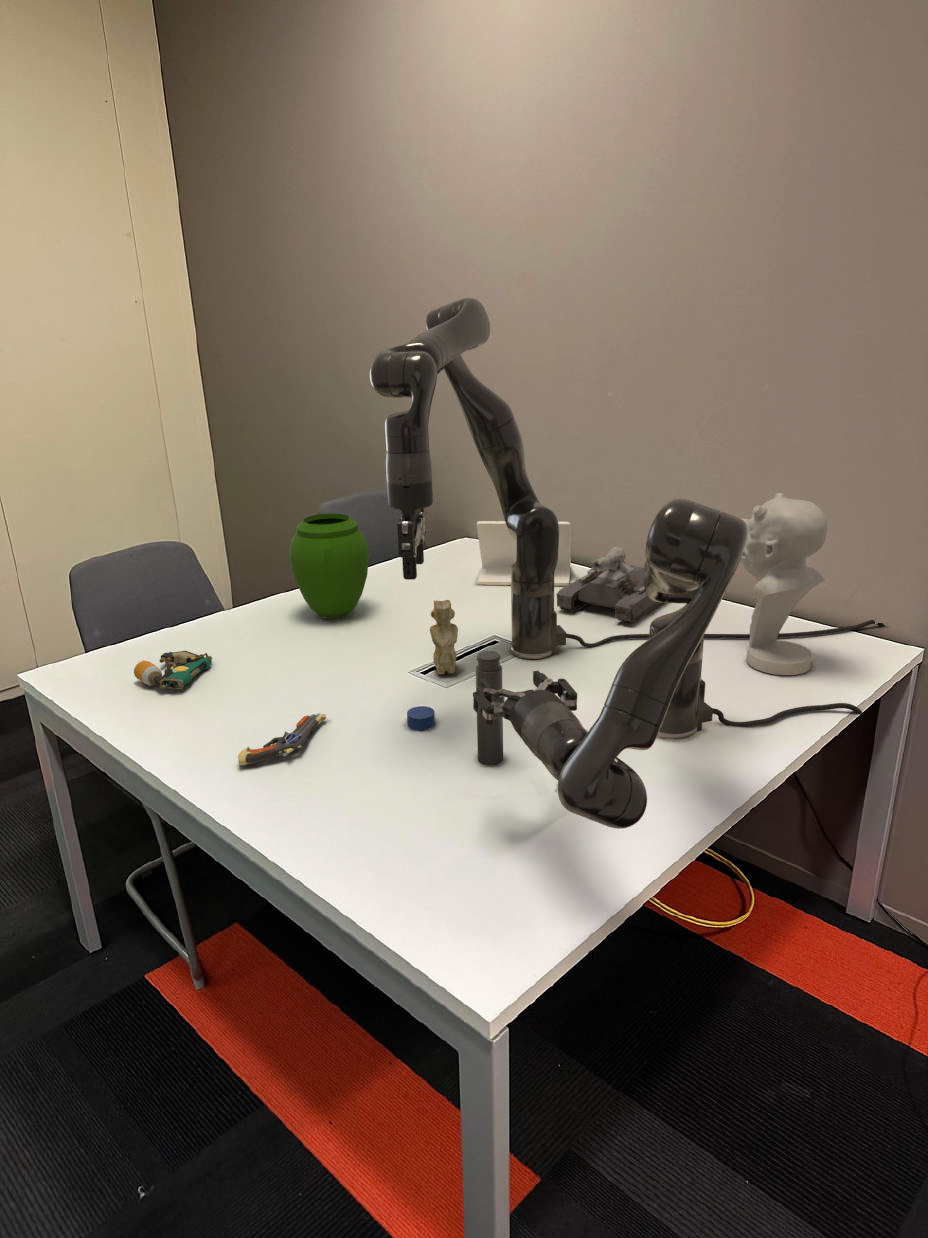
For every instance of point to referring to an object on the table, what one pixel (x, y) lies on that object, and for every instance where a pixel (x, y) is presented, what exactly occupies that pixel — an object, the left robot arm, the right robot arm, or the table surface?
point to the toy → (610, 588)
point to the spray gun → (172, 669)
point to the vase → (329, 563)
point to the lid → (420, 718)
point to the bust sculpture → (781, 578)
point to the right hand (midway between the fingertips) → (508, 680)
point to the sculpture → (444, 637)
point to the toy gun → (282, 741)
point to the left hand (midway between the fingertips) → (414, 571)
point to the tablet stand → (514, 553)
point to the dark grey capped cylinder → (493, 734)
